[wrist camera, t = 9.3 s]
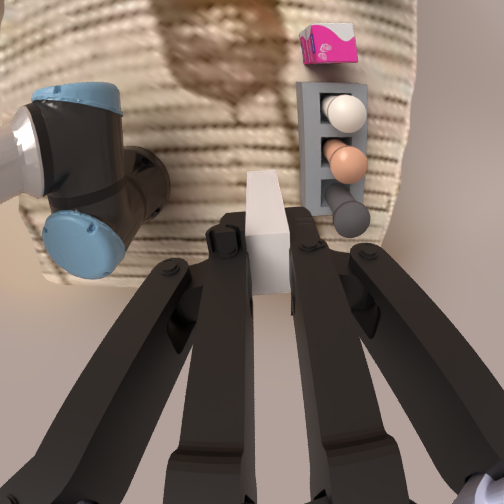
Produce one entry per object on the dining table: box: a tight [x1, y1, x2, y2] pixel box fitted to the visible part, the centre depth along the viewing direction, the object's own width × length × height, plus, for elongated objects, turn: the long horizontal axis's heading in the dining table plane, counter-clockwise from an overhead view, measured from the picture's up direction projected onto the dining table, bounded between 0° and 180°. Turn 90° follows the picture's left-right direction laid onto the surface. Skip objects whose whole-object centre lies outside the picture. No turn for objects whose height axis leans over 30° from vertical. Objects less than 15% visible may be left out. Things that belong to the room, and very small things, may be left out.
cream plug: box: [320, 94, 366, 133], centre depth 37 cm, size 5×5×9 cm
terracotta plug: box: [321, 137, 368, 184], centre depth 40 cm, size 5×5×9 cm
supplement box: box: [299, 23, 358, 64], centre depth 33 cm, size 6×6×12 cm
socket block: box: [296, 82, 367, 216], centre depth 44 cm, size 10×22×6 cm, turn 5°
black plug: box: [324, 183, 370, 238], centre depth 42 cm, size 5×5×9 cm
